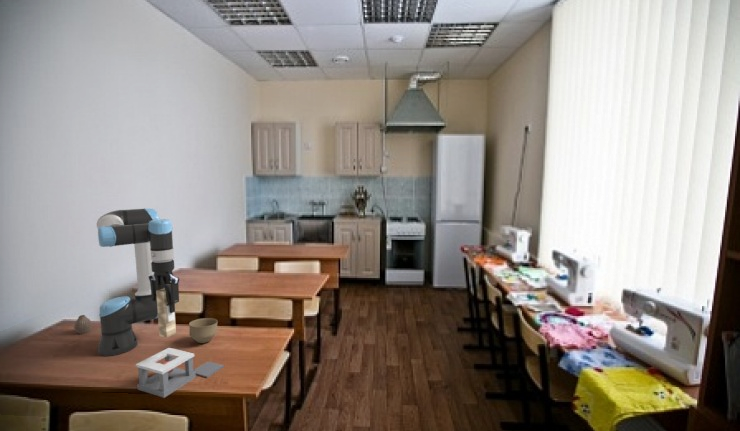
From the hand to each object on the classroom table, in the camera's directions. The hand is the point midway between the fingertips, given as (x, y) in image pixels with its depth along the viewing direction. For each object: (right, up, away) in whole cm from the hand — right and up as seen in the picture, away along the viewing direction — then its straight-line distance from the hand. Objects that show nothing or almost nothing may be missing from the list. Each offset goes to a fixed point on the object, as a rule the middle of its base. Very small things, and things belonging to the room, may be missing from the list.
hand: (166, 319), depth 136 cm
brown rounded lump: (-70, -20, +46) cm, 86 cm away
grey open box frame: (0, -25, +1) cm, 25 cm away
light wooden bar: (0, -6, +1) cm, 6 cm away
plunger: (0, -22, 0) cm, 23 cm away
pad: (+11, -24, +10) cm, 28 cm away
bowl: (-2, -21, +36) cm, 42 cm away
